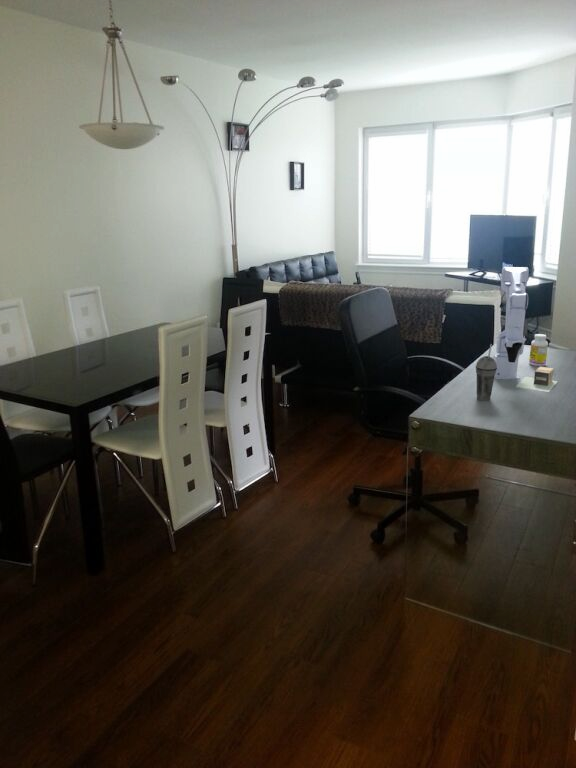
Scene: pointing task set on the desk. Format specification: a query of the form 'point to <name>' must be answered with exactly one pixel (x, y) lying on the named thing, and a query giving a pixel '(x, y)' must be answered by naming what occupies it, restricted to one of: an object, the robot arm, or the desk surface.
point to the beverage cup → (485, 376)
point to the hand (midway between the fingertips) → (511, 361)
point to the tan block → (543, 376)
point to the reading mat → (535, 385)
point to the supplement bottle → (538, 350)
